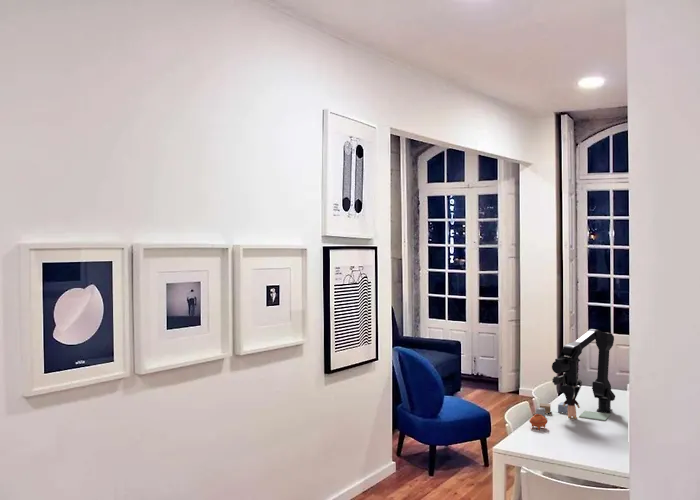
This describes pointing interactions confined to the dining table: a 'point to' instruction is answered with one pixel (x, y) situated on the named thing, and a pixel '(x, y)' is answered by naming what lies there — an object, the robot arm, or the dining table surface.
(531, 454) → the dining table surface
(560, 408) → the slate-blue block
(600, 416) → the sage mat
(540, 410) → the grey capsule
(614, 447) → the dining table surface
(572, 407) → the grandmother figurine
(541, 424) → the pot
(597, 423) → the dining table surface
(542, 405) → the walnut block
